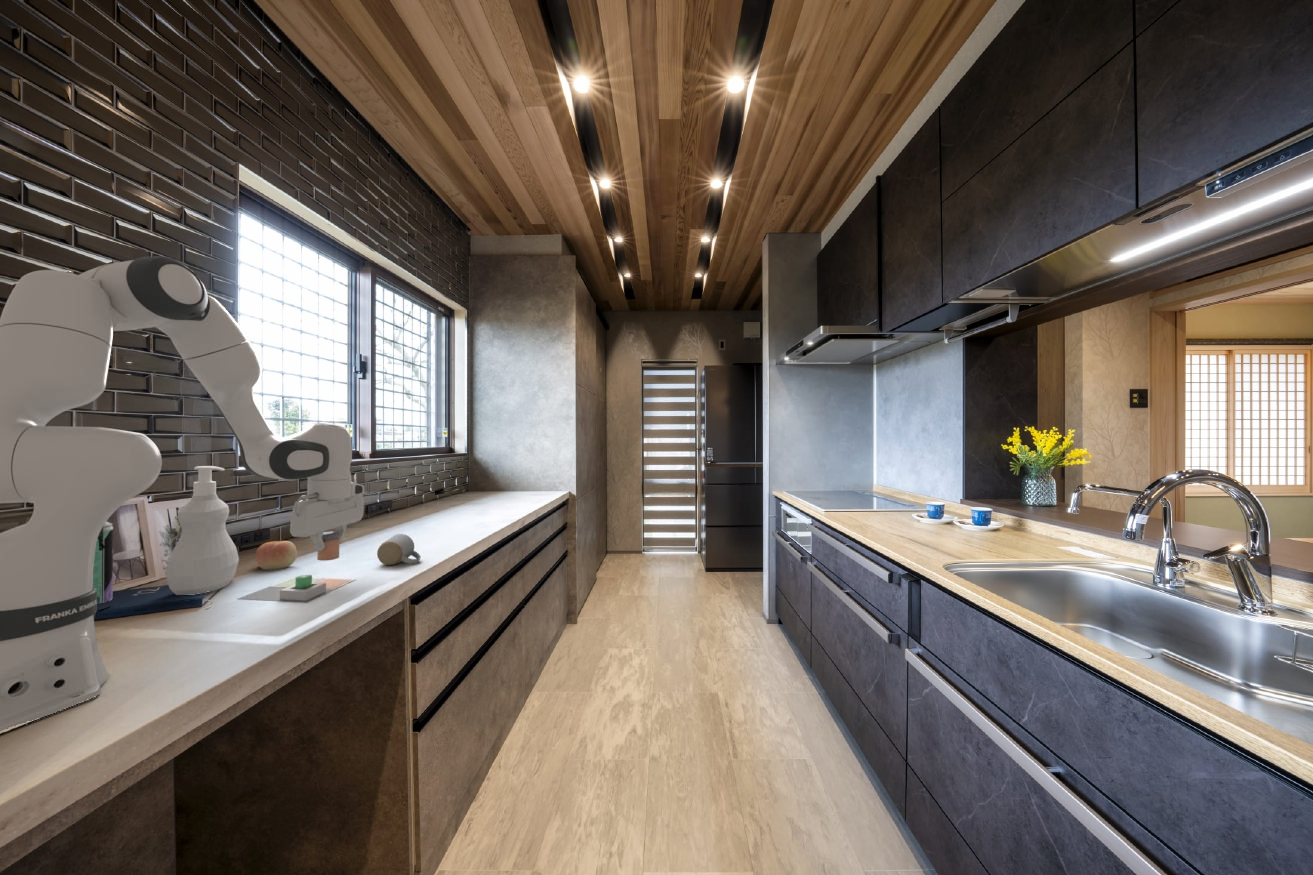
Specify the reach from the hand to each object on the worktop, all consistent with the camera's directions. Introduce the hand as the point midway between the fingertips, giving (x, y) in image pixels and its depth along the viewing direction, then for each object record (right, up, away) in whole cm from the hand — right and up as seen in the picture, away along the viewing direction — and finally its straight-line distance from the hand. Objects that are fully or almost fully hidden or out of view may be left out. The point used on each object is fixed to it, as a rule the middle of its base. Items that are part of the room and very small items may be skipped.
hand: (328, 547), depth 118 cm
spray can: (-39, -10, -16) cm, 43 cm away
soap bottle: (-26, -10, -5) cm, 28 cm away
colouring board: (-4, -10, -4) cm, 12 cm away
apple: (-23, -10, +13) cm, 28 cm away
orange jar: (0, -3, 0) cm, 3 cm away
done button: (0, -7, -8) cm, 11 cm away
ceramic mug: (+5, -10, +24) cm, 26 cm away
